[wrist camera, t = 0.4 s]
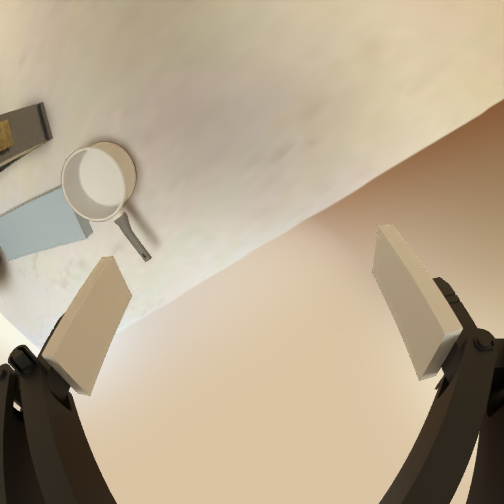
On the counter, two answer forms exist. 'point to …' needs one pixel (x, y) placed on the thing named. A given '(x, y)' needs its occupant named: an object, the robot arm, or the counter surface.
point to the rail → (5, 136)
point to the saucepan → (101, 186)
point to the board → (41, 225)
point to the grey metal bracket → (25, 132)
